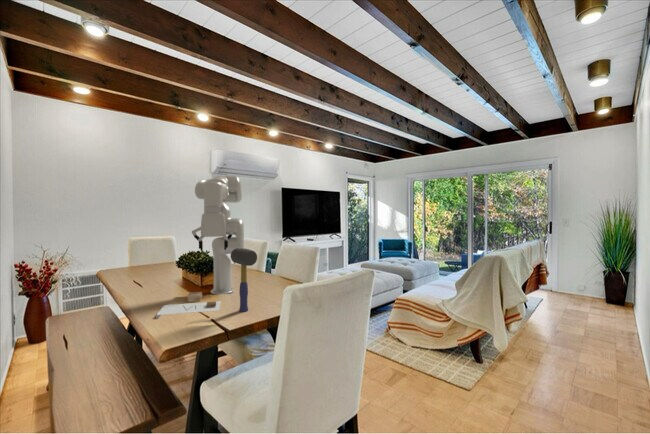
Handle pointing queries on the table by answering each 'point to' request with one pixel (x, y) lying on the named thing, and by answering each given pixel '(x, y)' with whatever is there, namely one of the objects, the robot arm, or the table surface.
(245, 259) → the rubber mallet
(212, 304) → the walnut offcut
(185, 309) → the board
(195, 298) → the sanding block
